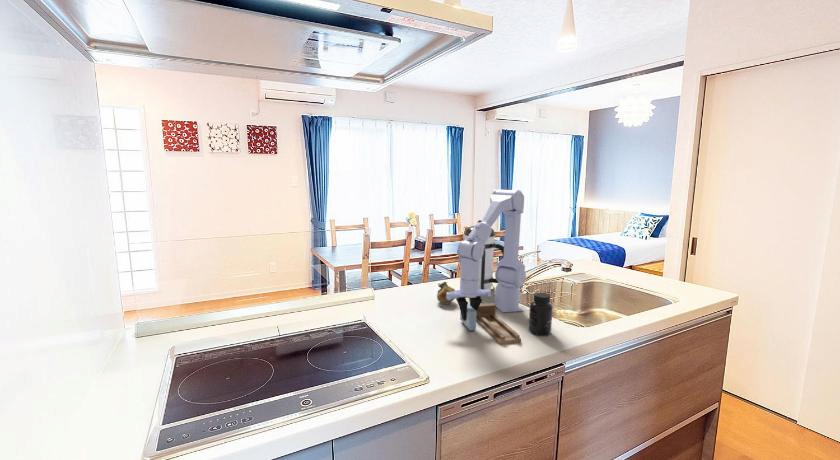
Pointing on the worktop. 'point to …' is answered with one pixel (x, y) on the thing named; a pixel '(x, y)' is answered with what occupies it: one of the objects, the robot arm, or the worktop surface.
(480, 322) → the door track
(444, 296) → the onion
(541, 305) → the supplement bottle
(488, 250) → the coffee press
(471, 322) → the light blue flat block
